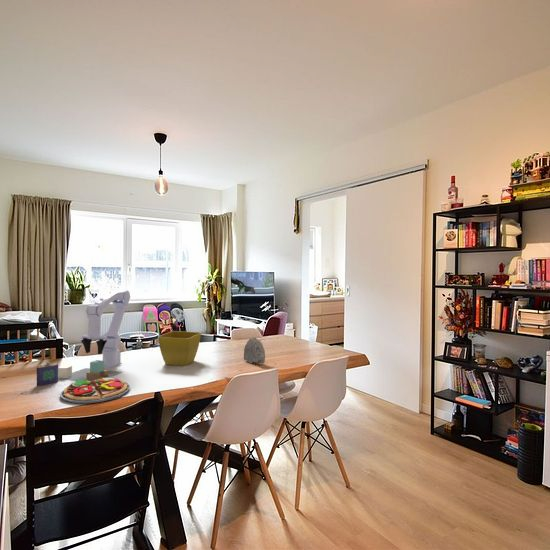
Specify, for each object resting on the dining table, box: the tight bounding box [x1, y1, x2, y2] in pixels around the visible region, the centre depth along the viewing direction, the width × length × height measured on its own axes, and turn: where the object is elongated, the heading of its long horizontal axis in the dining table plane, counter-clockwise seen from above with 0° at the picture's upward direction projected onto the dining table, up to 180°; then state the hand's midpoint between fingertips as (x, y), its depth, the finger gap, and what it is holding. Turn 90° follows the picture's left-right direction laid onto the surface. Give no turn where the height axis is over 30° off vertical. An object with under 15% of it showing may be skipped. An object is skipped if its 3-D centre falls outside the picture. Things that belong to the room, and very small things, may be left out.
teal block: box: [89, 359, 105, 373], centre depth 182 cm, size 4×4×5 cm
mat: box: [58, 367, 123, 382], centre depth 186 cm, size 20×24×1 cm
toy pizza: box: [59, 377, 131, 404], centre depth 161 cm, size 28×28×4 cm
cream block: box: [58, 365, 73, 378], centre depth 183 cm, size 4×4×5 cm
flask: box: [36, 361, 59, 387], centre depth 172 cm, size 9×3×11 cm, turn 144°
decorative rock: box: [243, 337, 266, 365], centre depth 216 cm, size 16×7×15 cm, turn 36°
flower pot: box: [157, 330, 202, 367], centre depth 214 cm, size 19×19×17 cm
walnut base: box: [86, 369, 109, 380], centre depth 182 cm, size 7×7×3 cm
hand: (93, 353), depth 190 cm, fingers open, 7 cm apart
